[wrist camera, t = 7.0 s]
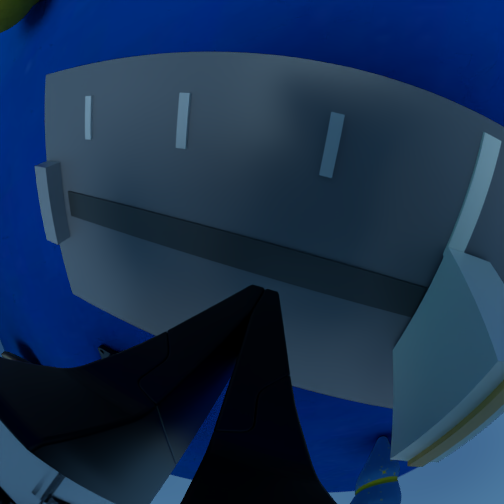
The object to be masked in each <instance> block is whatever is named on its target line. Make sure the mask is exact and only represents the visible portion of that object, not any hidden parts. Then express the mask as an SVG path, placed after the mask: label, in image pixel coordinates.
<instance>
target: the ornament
mask: <svg viewBox="0 0 504 504" xmlns="http://www.w3.org/2000/svg"><path fill="white" fill-rule="evenodd" d="M390 453H391V446H390V444H389V441H388V439H387V437H385V436H382V437H380V438H378V440H377V442H376V444H375V446H374V448H373V450H372V452H371V454H370V456H369V458H368V460H367V462H366V464H365V466H364V468H363V470H362V472H361V474H360V476H359V478H358V480H357V483H356V487H355V497H354V498H353V500H352V502H351V503H350V504H400V503H401V491H400V487H399V483H398V480H397V478H398V475H399V470H400V466H399V463H398V460H391V459H390Z"/></svg>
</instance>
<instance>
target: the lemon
mask: <svg viewBox="0 0 504 504" xmlns="http://www.w3.org/2000/svg"><path fill="white" fill-rule="evenodd" d="M38 2H39V0H0V33H1V32H3V31H5V30H8V29H9V28H11V27H13V26H14V25H15V24H17V23H18V22H19V21H20V20H21V19H23V18H24V16H25V15H26V14H27V13H28V12H29V11H30V9H31V8H32V6H34V5H35V4H36V3H38Z"/></svg>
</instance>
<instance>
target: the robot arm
mask: <svg viewBox="0 0 504 504" xmlns="http://www.w3.org/2000/svg"><path fill="white" fill-rule="evenodd" d="M98 350H99V353H100V355H101V358H102V359H100V360H97V361H94V362H92V363H89V364H86V365H83V366H79V367H74V368H56V367H49V366H43V365H37V364H32V363H26V362H21V361H16V360H11V359H6V358H2V357H0V504H150V503H151V501H152V500H153V498H154V497H155V495H156V494H157V493H158V491H159V490H160V488H161V487H162V485H163V484H164V482H165V481H166V479H167V478H168V476H169V475H170V473H171V472H172V470H173V469H174V467H175V466H176V464H177V463H178V461H179V460H180V458H181V457H182V455H183V454H184V452H185V450H186V449H187V447H188V446H189V444H190V443H191V441H192V439H193V438H194V436H195V435H196V433H197V431H198V430H199V428H200V427H201V425H202V423H203V422H204V420H205V419H206V417H207V415H208V414H209V412H210V410H211V409H212V407H213V406H214V404H215V402H216V401H217V399H218V397H219V396H220V394H221V392H222V391H223V389H224V387H225V386H226V384H227V382H228V381H229V379H230V377H231V379H230V382H229V385H228V388H227V391H226V395H225V398H224V401H223V404H222V407H221V410H220V413H219V416H218V419H217V422H216V425H215V428H214V432H213V434H212V437H211V440H210V443H209V446H208V448H207V451H206V453H205V455H204V457H203V460H202V462H201V464H200V466H199V468H198V470H197V472H196V474H195V476H194V478H193V480H192V482H191V484H190V486H189V488H188V490H187V492H186V494H185V496H184V498H183V500H182V502H181V503H180V504H337V503H336V502H335V501H334V500H333V498H332V497H331V496H330V494H329V493H328V492H327V491H326V489H325V488H324V487H323V485H322V484H321V482H320V481H319V479H318V477H317V475H316V473H315V470H314V468H313V465H312V462H311V459H310V455H309V452H308V449H307V445H306V442H305V438H304V435H303V432H302V428H301V425H300V422H299V418H298V414H297V410H296V406H295V401H294V395H293V389H292V382H291V377H290V368H289V361H288V353H287V346H286V339H285V332H284V325H283V318H282V311H281V304H280V297H279V293H278V292H277V291H273V290H270V289H264V288H263V287H260V286H257V285H253V284H252V285H250V286H248V287H246V288H244V289H242V290H241V291H239V292H237V293H235V294H233V295H232V296H230V297H228V298H226V299H224V300H223V301H221V302H219V303H217V304H215V305H213V306H212V307H210V308H208V309H206V310H204V311H202V312H201V313H199V314H197V315H195V316H193V317H191V318H189V319H188V320H186V321H184V322H182V323H180V324H178V325H176V326H175V327H173V328H171V329H169V330H168V331H167V332H166V331H165V332H163V333H161V334H159V335H157V336H155V337H153V338H151V339H149V340H147V341H145V342H143V343H141V344H139V345H136V346H134V347H131V348H129V349H127V350H124V351H121V352H119V353H116V352H114V351H112V350H111V349H109V348H107V347H105V346H104V345H100V346H99V347H98ZM231 375H232V376H231Z"/></svg>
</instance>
